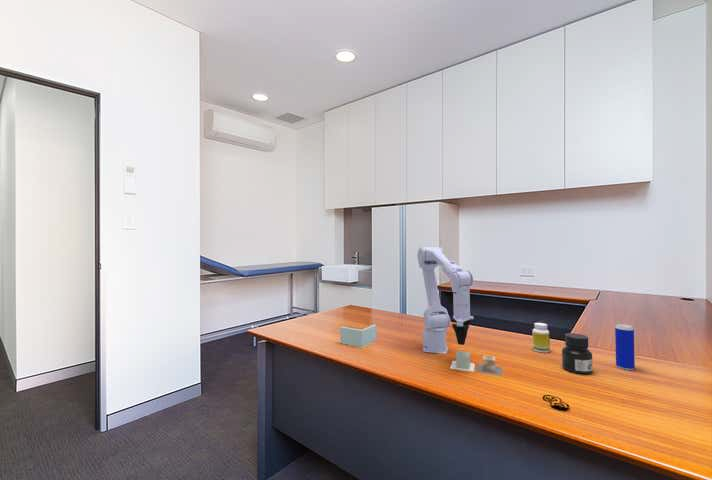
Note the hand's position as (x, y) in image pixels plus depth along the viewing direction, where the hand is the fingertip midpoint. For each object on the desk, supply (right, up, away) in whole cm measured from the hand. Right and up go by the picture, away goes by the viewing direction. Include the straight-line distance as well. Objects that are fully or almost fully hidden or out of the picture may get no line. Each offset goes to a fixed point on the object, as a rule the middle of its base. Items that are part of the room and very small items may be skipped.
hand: (462, 341), depth 118 cm
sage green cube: (0, -9, 0) cm, 9 cm away
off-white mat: (0, -10, 0) cm, 10 cm away
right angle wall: (-38, -11, +32) cm, 50 cm away
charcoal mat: (+8, -9, -4) cm, 13 cm away
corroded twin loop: (+17, -10, -27) cm, 34 cm away
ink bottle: (+39, -9, -4) cm, 41 cm away
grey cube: (+8, -9, -4) cm, 13 cm away
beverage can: (+57, -9, -3) cm, 58 cm away
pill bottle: (+38, -9, +16) cm, 42 cm away
